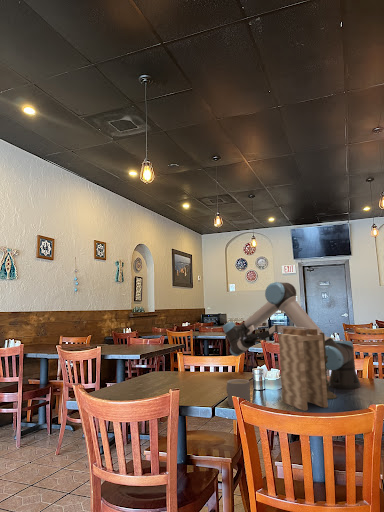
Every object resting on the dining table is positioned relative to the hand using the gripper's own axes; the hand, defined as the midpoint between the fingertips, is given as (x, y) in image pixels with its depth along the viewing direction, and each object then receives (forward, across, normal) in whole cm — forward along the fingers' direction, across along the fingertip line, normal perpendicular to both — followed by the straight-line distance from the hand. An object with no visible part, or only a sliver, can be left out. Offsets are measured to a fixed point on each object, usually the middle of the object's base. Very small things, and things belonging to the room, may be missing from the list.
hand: (264, 327), depth 204 cm
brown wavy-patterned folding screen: (+16, +1, -42) cm, 45 cm away
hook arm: (+23, +2, -13) cm, 26 cm away
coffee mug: (+1, +25, -37) cm, 45 cm away
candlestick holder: (+12, -16, -40) cm, 44 cm away
